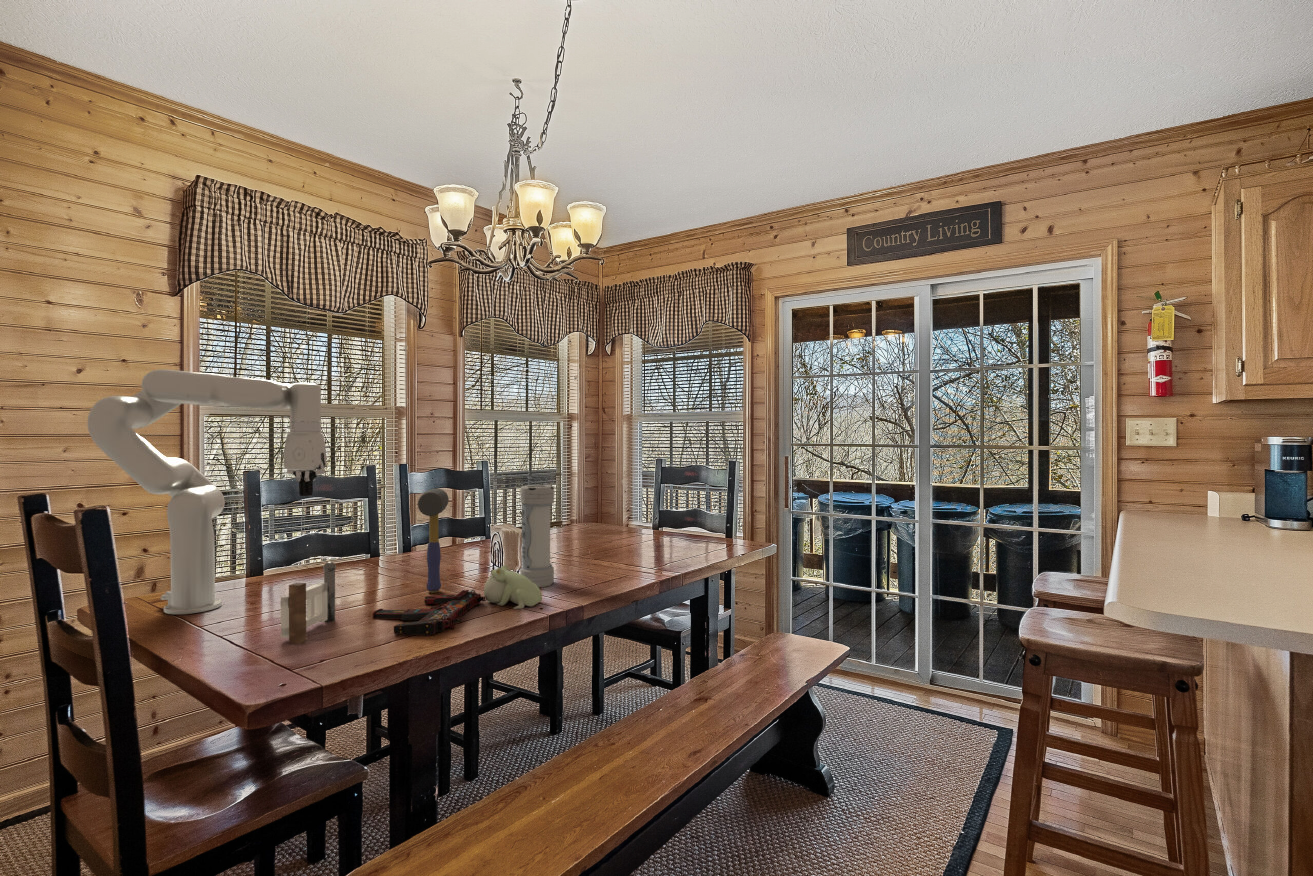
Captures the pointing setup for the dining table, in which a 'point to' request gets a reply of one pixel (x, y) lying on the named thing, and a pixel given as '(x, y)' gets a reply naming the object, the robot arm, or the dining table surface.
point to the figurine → (511, 588)
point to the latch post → (297, 613)
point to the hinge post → (330, 589)
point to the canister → (536, 534)
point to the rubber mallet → (433, 533)
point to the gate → (315, 607)
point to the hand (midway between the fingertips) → (306, 495)
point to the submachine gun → (432, 613)
